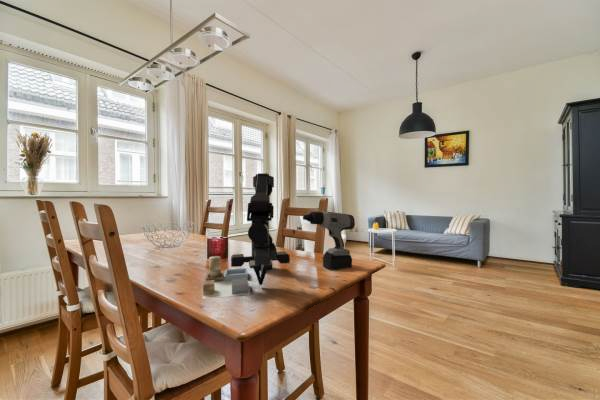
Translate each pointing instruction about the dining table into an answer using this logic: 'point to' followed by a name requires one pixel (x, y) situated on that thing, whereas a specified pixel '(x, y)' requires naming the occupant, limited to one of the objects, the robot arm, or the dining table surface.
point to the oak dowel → (215, 266)
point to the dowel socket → (215, 278)
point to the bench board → (223, 290)
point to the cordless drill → (334, 237)
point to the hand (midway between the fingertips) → (260, 284)
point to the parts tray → (236, 274)
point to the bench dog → (208, 287)
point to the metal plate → (239, 286)
